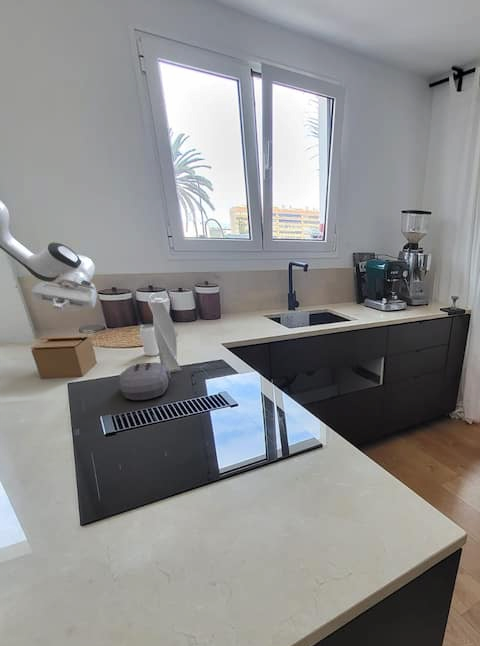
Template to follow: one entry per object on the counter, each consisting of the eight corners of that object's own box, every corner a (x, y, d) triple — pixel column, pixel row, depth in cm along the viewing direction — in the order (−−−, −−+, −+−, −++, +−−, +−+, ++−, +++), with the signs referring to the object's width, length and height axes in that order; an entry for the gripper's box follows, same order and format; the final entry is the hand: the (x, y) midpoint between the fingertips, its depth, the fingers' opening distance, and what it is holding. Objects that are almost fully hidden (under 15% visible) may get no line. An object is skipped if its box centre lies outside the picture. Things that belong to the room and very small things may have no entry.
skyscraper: (155, 368, 149) (140, 293, 137) (177, 364, 154) (164, 291, 142) (163, 374, 143) (148, 296, 132) (185, 370, 148) (173, 294, 137)
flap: (50, 337, 145) (50, 336, 145) (89, 335, 148) (89, 334, 148) (40, 339, 138) (40, 338, 138) (81, 338, 142) (81, 337, 141)
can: (148, 357, 161) (142, 328, 156) (142, 353, 165) (136, 325, 160) (164, 354, 165) (159, 326, 160) (158, 350, 169) (152, 323, 164)
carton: (58, 364, 150) (49, 336, 145) (97, 362, 153) (89, 334, 148) (40, 378, 137) (30, 347, 132) (82, 376, 140) (74, 345, 135)
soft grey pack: (125, 382, 136) (116, 405, 119) (120, 359, 132) (110, 380, 115) (173, 377, 141) (170, 399, 124) (168, 355, 138) (166, 374, 121)
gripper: (38, 273, 151) (21, 296, 142) (98, 284, 156) (86, 307, 148) (43, 287, 155) (27, 309, 147) (101, 297, 161) (89, 319, 152)
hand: (57, 308), depth 147 cm, fingers closed
